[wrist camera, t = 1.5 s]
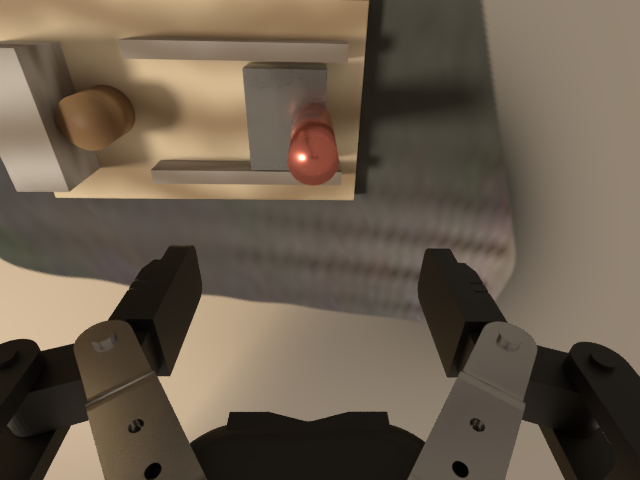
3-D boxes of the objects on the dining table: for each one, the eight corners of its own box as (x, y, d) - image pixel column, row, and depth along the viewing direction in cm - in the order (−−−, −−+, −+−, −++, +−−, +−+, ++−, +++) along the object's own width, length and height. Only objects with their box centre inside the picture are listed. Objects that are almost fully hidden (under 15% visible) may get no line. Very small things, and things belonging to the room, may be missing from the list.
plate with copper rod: (248, 62, 28) (218, 91, 19) (332, 64, 28) (342, 93, 19) (255, 157, 32) (233, 218, 23) (329, 157, 33) (336, 218, 23)
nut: (77, 84, 29) (46, 94, 26) (128, 85, 29) (104, 95, 26) (93, 134, 31) (66, 150, 28) (140, 135, 31) (119, 150, 28)
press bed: (-17, -9, 27) (-96, -11, 21) (366, 0, 27) (379, -1, 22) (63, 192, 35) (20, 224, 30) (352, 194, 36) (359, 226, 31)
